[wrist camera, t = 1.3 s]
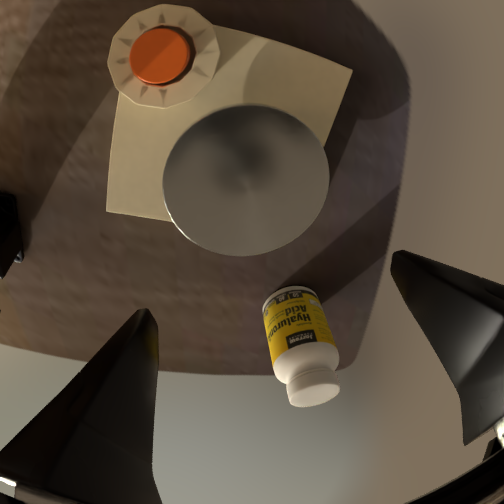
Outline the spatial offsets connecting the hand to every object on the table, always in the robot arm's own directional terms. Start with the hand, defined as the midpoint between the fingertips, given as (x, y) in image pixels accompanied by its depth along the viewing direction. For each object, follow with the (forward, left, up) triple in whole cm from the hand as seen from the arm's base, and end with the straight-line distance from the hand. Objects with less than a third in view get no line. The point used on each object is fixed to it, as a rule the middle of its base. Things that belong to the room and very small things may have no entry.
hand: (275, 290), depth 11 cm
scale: (-2, +2, -12) cm, 12 cm away
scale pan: (0, 0, -9) cm, 9 cm away
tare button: (-6, +6, -9) cm, 13 cm away
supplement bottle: (+8, -12, -12) cm, 19 cm away
